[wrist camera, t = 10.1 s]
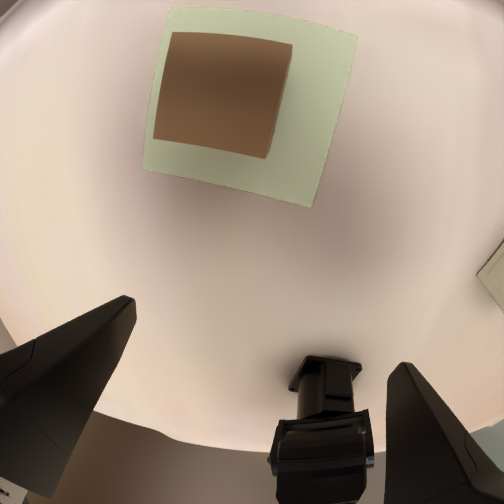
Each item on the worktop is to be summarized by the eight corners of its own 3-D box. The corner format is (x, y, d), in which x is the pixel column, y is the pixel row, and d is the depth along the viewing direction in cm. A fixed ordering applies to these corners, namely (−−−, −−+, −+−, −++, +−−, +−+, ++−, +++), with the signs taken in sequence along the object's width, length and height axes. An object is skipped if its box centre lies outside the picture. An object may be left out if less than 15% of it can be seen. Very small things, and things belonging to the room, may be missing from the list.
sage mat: (310, 203, 18) (311, 208, 18) (147, 166, 19) (141, 169, 18) (354, 39, 12) (358, 36, 12) (176, 11, 13) (170, 7, 12)
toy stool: (273, 142, 16) (265, 159, 11) (195, 127, 16) (152, 138, 11) (291, 67, 13) (292, 44, 8) (210, 54, 13) (172, 32, 8)
